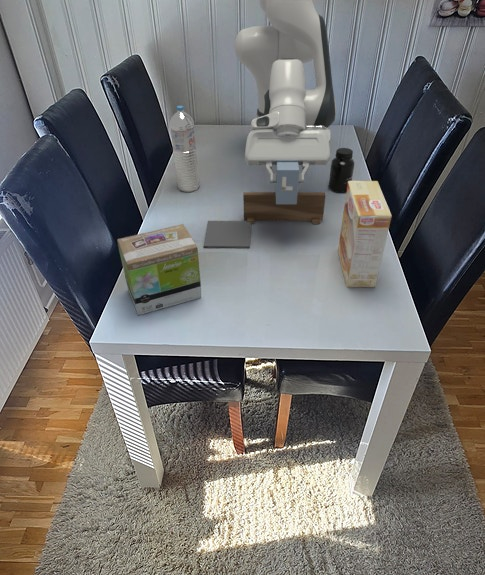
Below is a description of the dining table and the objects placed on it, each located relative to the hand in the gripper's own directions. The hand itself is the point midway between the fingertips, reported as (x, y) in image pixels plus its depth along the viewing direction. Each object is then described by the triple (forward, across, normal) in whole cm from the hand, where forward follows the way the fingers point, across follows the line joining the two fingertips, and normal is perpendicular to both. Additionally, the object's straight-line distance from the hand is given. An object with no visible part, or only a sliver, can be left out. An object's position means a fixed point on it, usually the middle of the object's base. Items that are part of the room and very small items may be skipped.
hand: (286, 182), depth 106 cm
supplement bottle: (-8, -18, -32) cm, 38 cm away
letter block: (+3, 0, -4) cm, 5 cm away
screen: (+5, 0, -20) cm, 20 cm away
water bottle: (-8, +29, -32) cm, 44 cm away
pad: (+10, +15, -14) cm, 23 cm away
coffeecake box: (+20, -17, -4) cm, 27 cm away
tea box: (+27, +28, +3) cm, 39 cm away
